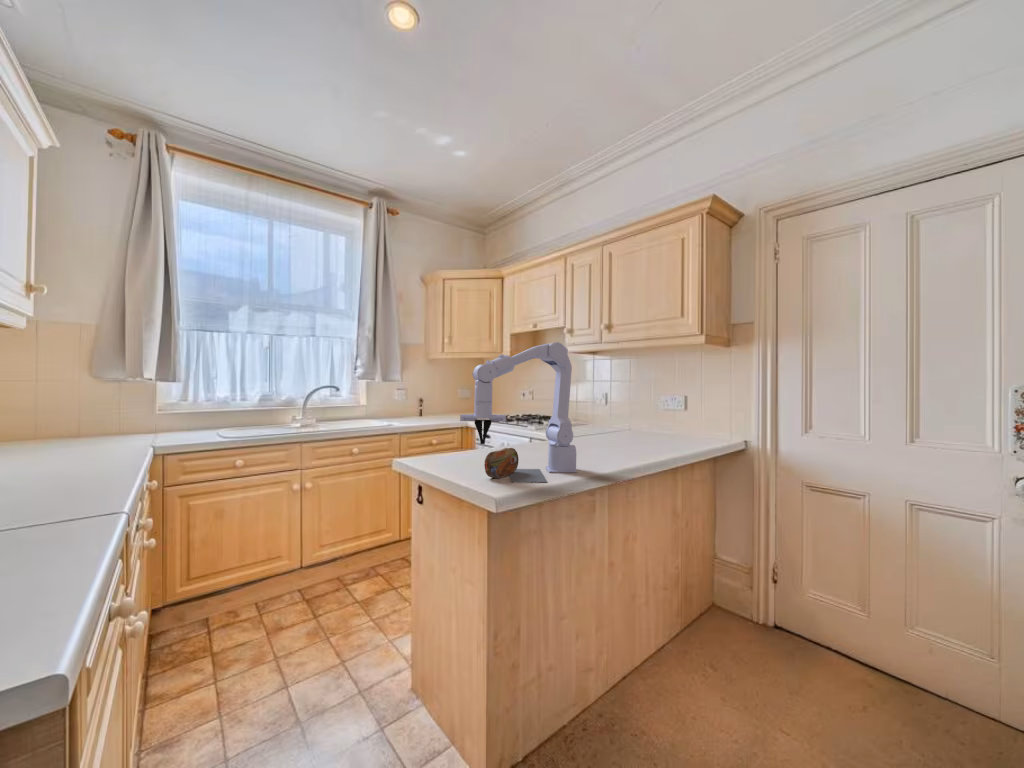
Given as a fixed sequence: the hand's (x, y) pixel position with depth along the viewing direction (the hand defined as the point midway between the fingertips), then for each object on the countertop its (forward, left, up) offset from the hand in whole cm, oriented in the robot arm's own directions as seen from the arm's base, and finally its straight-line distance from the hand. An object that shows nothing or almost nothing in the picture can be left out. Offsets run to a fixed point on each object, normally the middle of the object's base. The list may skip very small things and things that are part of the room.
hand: (482, 443), depth 133 cm
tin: (-7, 0, -10) cm, 12 cm away
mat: (-15, 0, -10) cm, 18 cm away
